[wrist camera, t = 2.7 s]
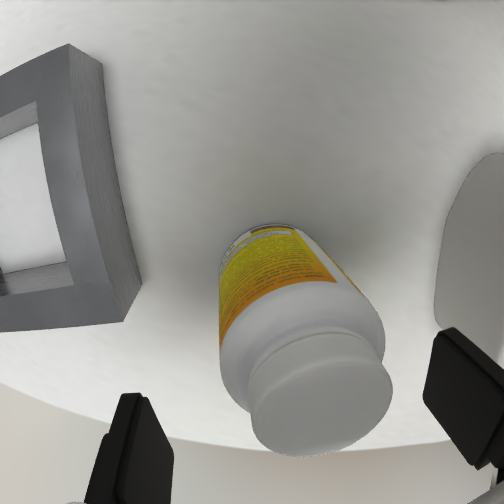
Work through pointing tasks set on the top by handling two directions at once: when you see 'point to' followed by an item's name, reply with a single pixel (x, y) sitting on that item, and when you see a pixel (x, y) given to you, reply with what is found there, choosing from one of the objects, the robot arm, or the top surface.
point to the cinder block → (70, 197)
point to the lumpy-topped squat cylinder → (475, 260)
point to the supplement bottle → (299, 344)
